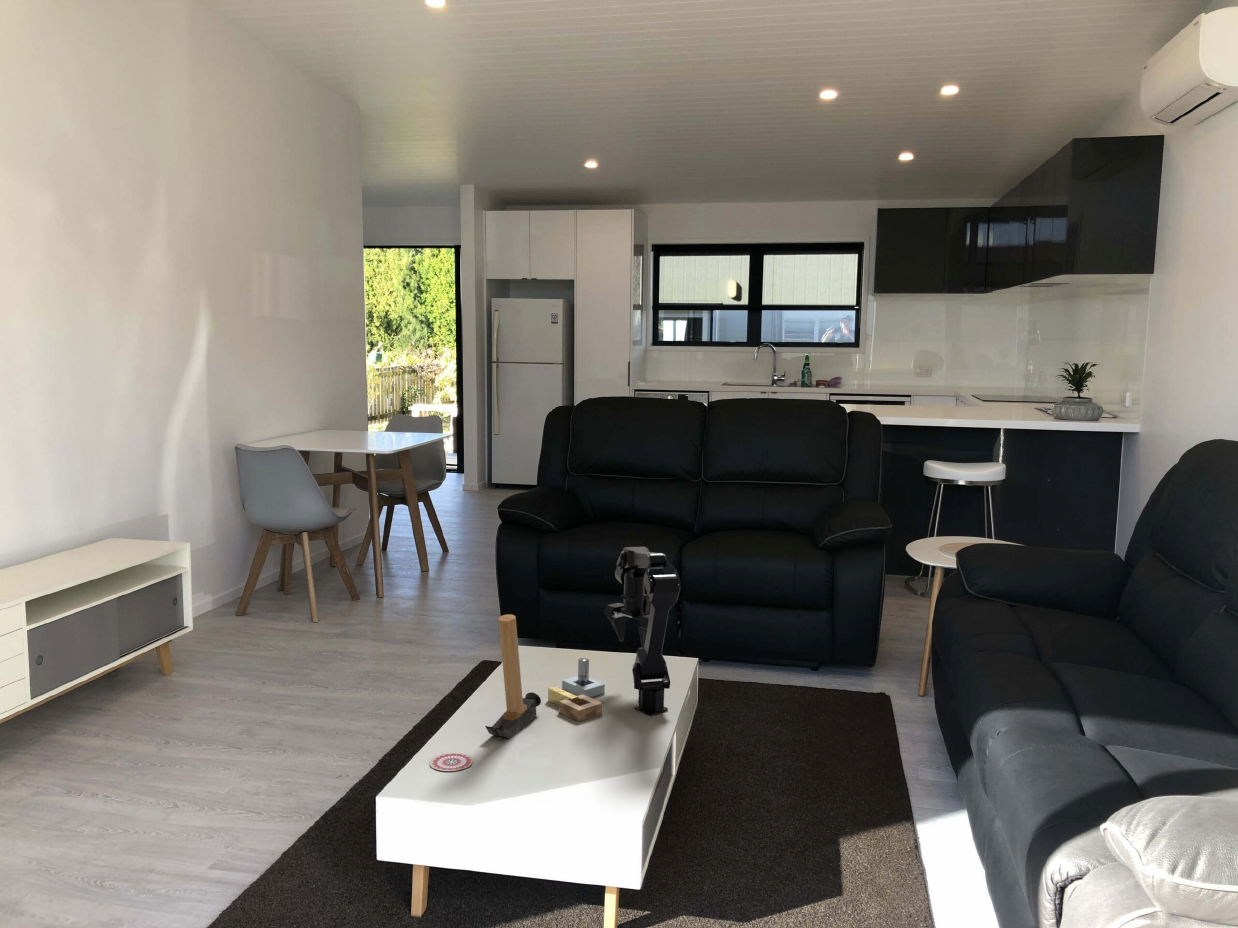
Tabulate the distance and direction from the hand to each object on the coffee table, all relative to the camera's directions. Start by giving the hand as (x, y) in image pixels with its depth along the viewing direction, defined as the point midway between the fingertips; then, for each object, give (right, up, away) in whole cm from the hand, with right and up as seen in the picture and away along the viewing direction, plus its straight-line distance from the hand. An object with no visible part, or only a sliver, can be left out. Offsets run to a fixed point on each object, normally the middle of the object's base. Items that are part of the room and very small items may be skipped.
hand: (632, 645), depth 259 cm
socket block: (-14, -14, -19) cm, 28 cm away
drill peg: (-14, -12, -3) cm, 19 cm away
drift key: (-19, -13, -14) cm, 27 cm away
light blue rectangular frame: (-14, -12, -3) cm, 19 cm away
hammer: (-30, -15, -29) cm, 44 cm away
